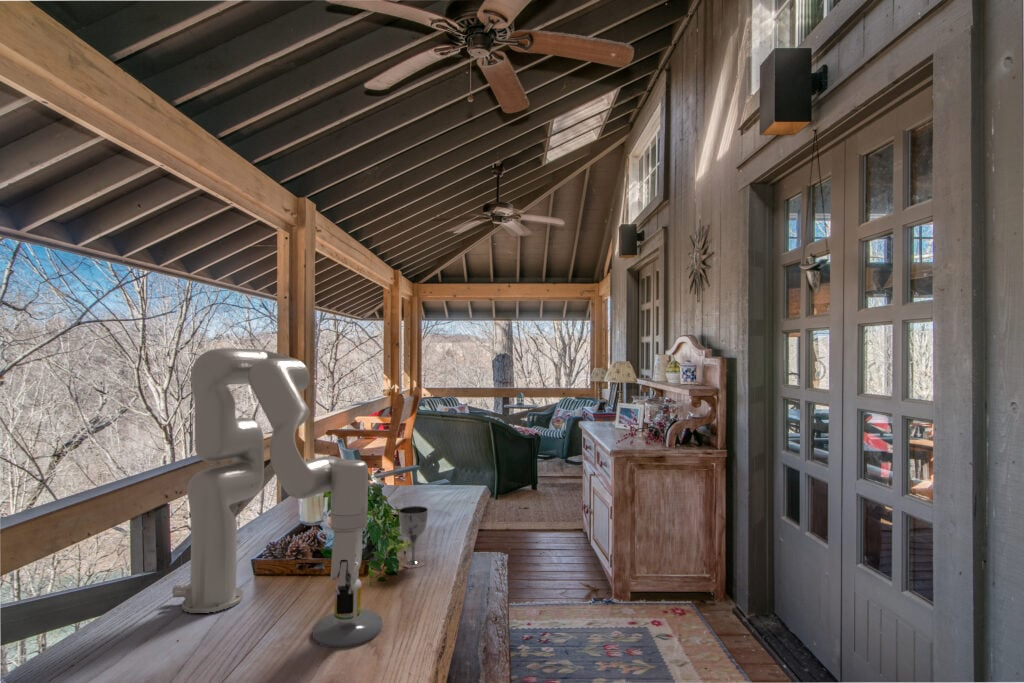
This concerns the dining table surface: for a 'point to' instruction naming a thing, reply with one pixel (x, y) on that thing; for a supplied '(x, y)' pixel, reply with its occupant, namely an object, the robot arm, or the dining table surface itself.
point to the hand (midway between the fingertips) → (347, 605)
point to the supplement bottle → (356, 602)
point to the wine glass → (413, 526)
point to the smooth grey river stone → (347, 630)
